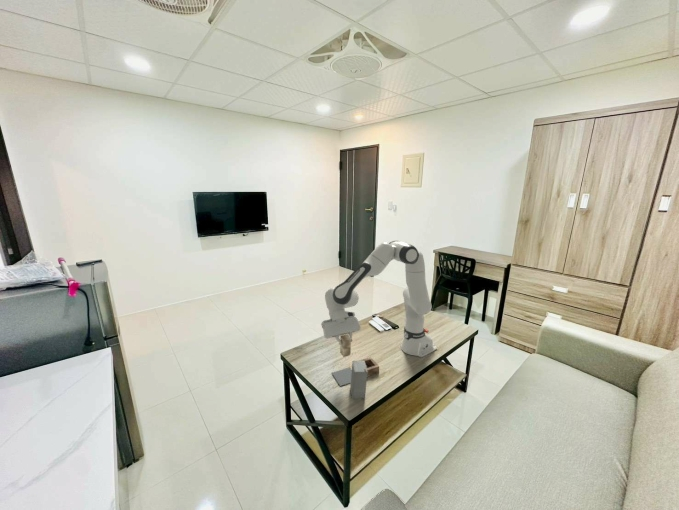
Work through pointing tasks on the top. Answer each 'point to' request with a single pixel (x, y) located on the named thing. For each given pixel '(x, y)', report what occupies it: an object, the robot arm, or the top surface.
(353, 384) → the skincare box
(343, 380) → the slate mat
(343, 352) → the birch peg block
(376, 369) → the walnut pocket
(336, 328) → the robot arm
